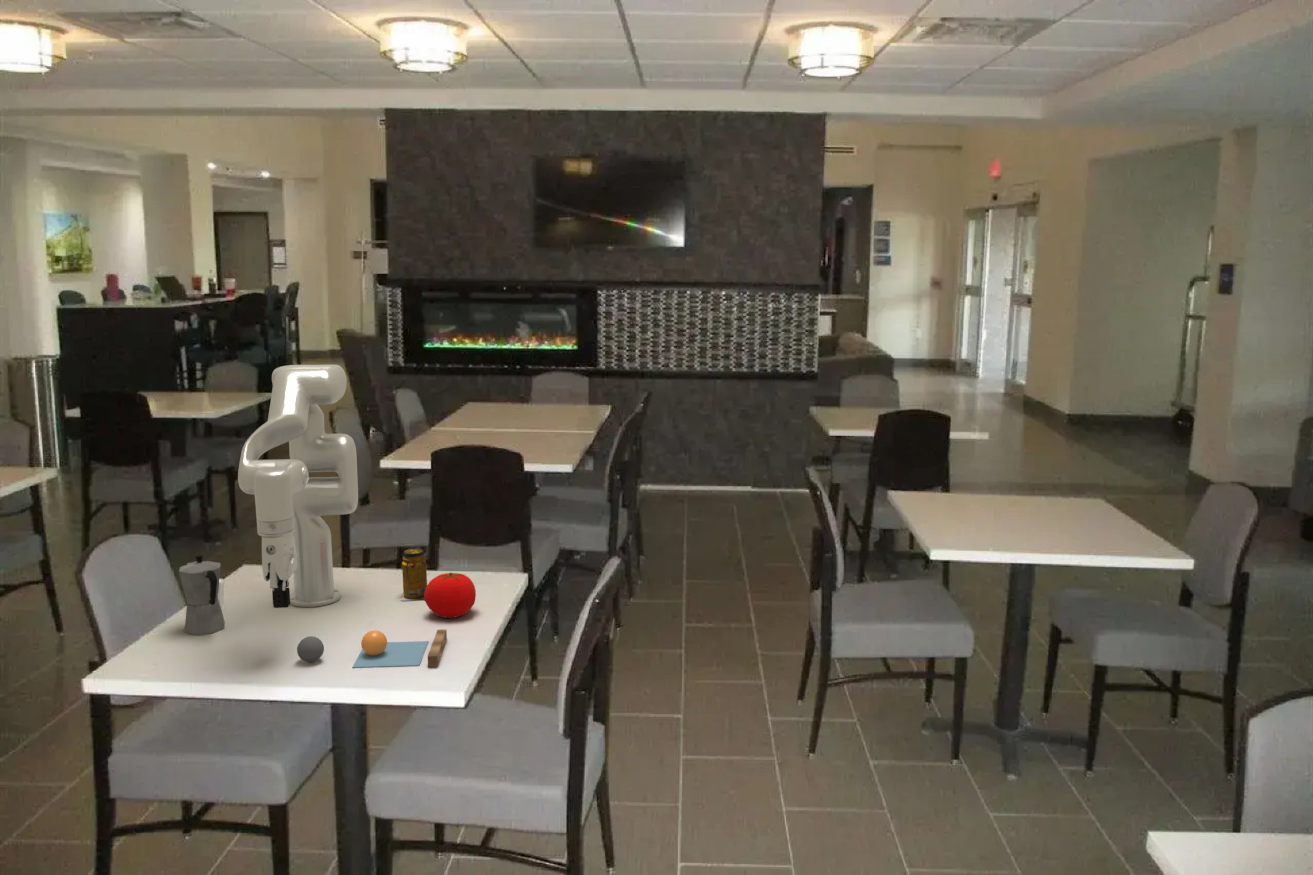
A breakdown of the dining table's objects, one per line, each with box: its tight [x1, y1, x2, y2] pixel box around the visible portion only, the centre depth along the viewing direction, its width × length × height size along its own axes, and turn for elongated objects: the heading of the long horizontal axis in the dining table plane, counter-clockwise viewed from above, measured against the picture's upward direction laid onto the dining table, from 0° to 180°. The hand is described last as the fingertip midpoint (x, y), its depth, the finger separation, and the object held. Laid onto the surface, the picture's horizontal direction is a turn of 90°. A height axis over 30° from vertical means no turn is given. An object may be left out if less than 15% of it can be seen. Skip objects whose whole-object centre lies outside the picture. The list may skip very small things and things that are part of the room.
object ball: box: [360, 629, 388, 656], centre depth 227 cm, size 6×6×6 cm
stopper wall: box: [427, 629, 448, 668], centre depth 228 cm, size 16×2×2 cm, turn 4°
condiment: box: [400, 548, 428, 602], centre depth 266 cm, size 7×8×12 cm
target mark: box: [352, 640, 429, 669], centre depth 227 cm, size 14×14×1 cm
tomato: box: [423, 572, 477, 618], centre depth 252 cm, size 11×12×10 cm
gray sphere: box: [296, 636, 325, 663], centre depth 223 cm, size 6×6×6 cm
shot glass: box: [218, 578, 225, 610], centre depth 257 cm, size 7×7×7 cm
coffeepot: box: [178, 554, 226, 636], centre depth 241 cm, size 15×9×18 cm, turn 43°
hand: (282, 606), depth 225 cm, fingers closed
